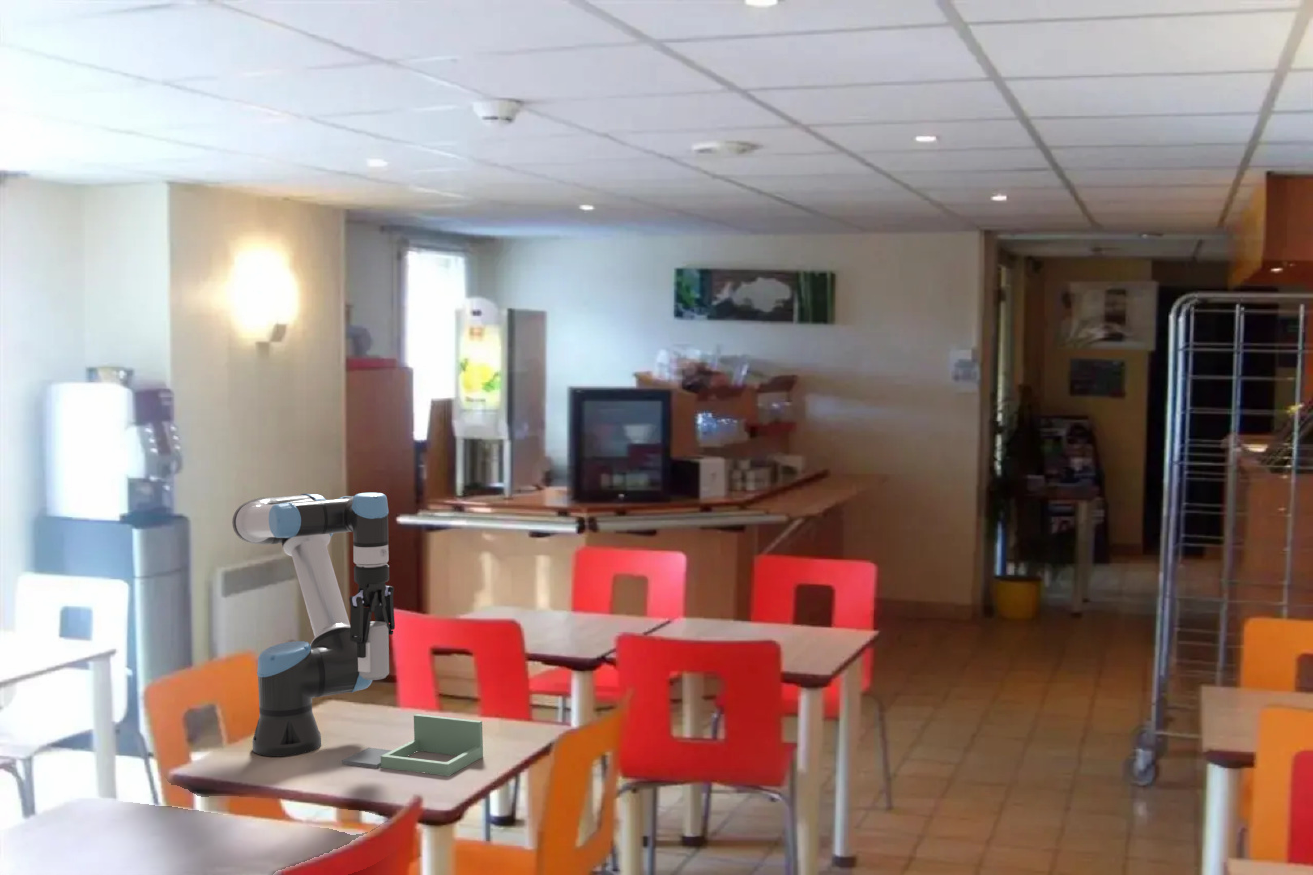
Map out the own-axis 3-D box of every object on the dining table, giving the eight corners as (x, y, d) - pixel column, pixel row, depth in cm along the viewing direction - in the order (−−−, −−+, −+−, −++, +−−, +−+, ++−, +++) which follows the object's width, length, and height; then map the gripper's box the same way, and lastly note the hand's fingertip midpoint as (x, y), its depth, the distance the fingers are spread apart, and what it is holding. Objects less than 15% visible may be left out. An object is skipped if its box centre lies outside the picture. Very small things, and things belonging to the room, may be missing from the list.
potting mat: (342, 763, 295) (342, 760, 295) (369, 751, 304) (368, 747, 304) (376, 768, 291) (376, 764, 291) (402, 755, 301) (402, 751, 300)
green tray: (380, 767, 292) (379, 731, 291) (417, 748, 305) (416, 714, 305) (448, 776, 285) (447, 738, 285) (483, 756, 298) (482, 721, 298)
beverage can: (364, 673, 300) (363, 620, 299) (392, 673, 300) (391, 620, 299) (355, 680, 294) (354, 626, 293) (384, 681, 293) (383, 627, 292)
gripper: (359, 572, 284) (362, 680, 287) (410, 557, 302) (412, 659, 304) (330, 570, 287) (332, 676, 289) (382, 555, 305) (384, 656, 307)
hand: (373, 667), depth 297 cm, fingers closed on beverage can, 6 cm apart
